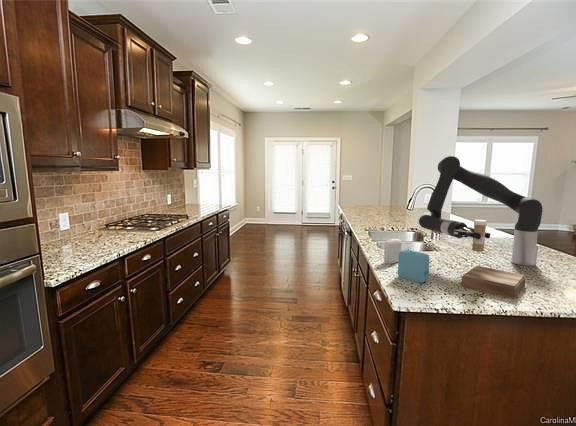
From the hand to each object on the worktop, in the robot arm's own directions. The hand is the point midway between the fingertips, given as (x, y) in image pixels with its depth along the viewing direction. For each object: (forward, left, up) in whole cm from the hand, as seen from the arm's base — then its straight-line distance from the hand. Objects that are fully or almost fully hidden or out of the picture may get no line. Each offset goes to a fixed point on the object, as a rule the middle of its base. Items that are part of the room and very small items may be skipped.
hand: (484, 236), depth 130 cm
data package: (+28, -3, -20) cm, 35 cm away
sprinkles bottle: (+1, -3, -7) cm, 8 cm away
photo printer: (+28, -28, -20) cm, 45 cm away
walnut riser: (-1, +7, -20) cm, 21 cm away
